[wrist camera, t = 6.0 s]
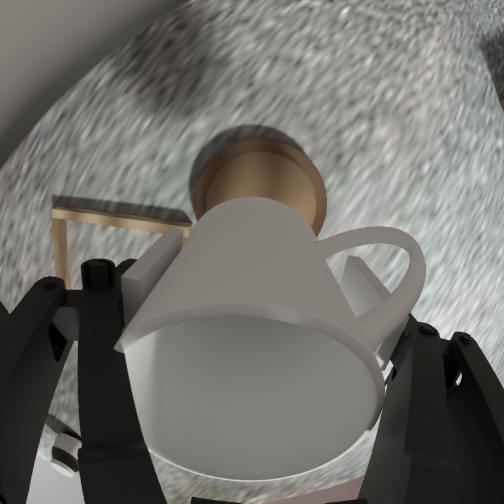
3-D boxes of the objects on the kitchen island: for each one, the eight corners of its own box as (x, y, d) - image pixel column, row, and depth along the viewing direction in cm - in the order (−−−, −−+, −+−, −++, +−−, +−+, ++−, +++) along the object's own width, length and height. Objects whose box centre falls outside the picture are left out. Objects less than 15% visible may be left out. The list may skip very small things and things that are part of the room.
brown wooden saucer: (192, 251, 37) (186, 261, 34) (206, 131, 32) (201, 129, 29) (309, 269, 37) (313, 279, 34) (333, 152, 32) (340, 152, 29)
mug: (339, 151, 16) (478, 166, 5) (381, 274, 18) (479, 403, 7) (160, 232, 18) (44, 349, 6) (222, 338, 20) (196, 492, 9)
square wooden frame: (71, 325, 42) (65, 331, 40) (59, 205, 35) (51, 208, 33) (183, 353, 42) (181, 361, 41) (192, 223, 36) (189, 227, 34)
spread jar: (59, 424, 54) (42, 455, 43) (94, 439, 54) (79, 472, 43) (71, 447, 58) (58, 475, 47) (104, 460, 58) (93, 490, 47)
